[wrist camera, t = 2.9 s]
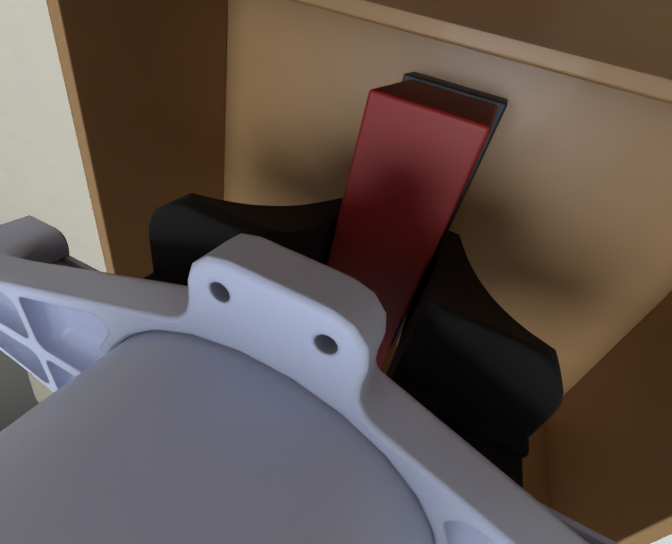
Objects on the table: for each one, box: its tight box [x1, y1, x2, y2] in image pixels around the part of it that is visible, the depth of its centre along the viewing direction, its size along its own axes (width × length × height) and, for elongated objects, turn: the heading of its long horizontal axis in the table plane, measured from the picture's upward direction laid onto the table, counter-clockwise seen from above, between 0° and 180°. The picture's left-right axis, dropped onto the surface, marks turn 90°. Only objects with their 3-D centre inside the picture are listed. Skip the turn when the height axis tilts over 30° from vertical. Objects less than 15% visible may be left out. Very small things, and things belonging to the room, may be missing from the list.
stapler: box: [327, 72, 508, 370], centre depth 12 cm, size 10×3×5 cm, turn 168°
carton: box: [46, 0, 672, 544], centre depth 11 cm, size 18×13×6 cm
